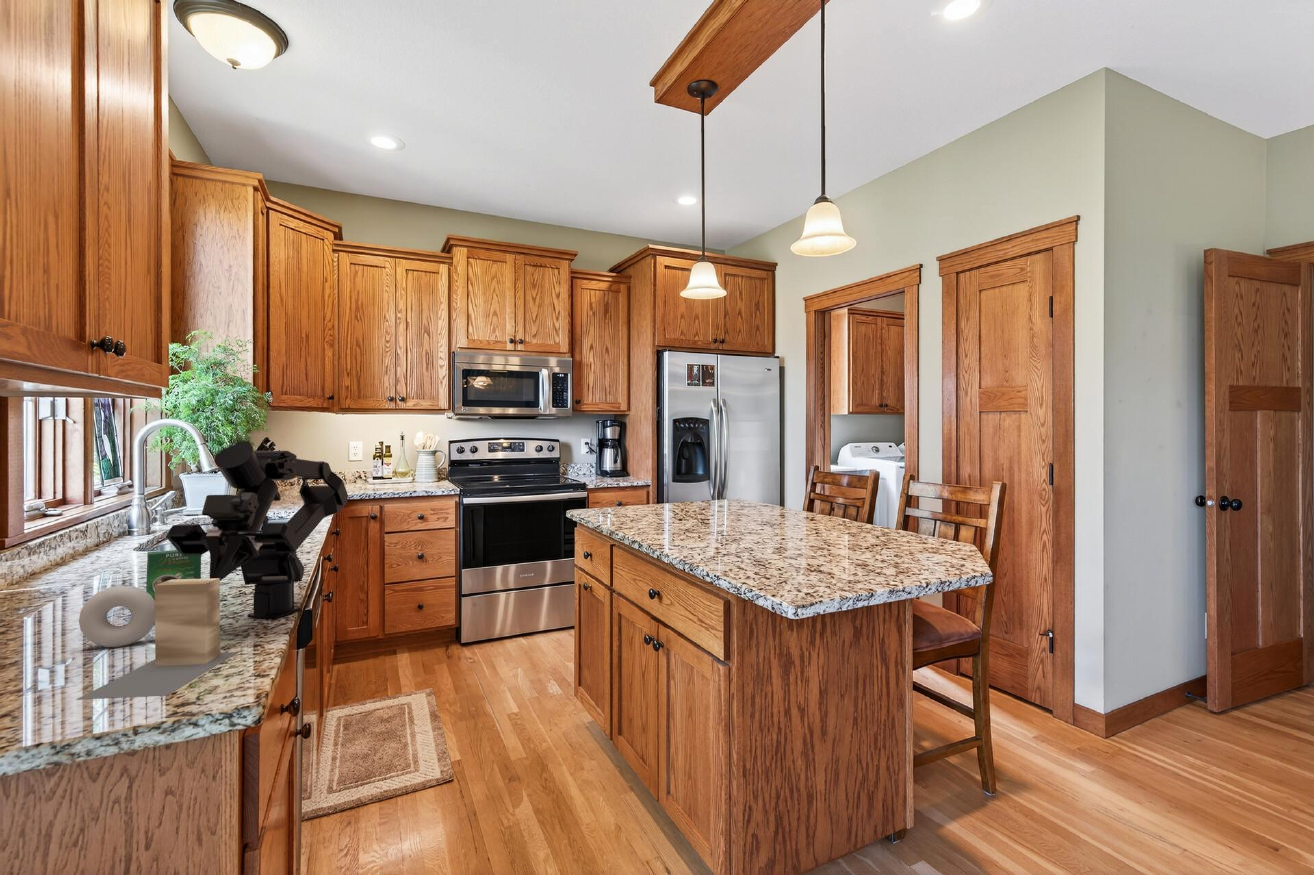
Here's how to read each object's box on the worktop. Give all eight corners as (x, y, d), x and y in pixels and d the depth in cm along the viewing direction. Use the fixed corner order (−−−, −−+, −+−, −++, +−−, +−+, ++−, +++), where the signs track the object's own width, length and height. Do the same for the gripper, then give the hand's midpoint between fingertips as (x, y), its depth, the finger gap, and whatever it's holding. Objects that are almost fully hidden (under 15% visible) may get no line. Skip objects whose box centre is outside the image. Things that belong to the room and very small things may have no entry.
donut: (161, 639, 102) (160, 580, 102) (153, 645, 99) (153, 584, 99) (84, 647, 98) (84, 586, 98) (74, 654, 95) (74, 591, 95)
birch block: (171, 657, 93) (171, 579, 93) (220, 655, 94) (219, 578, 94) (155, 665, 90) (154, 585, 90) (205, 663, 91) (205, 583, 91)
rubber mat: (163, 656, 94) (163, 655, 94) (238, 653, 96) (238, 652, 96) (76, 700, 79) (76, 699, 79) (167, 696, 80) (167, 695, 80)
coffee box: (200, 613, 117) (199, 546, 117) (202, 616, 115) (201, 547, 115) (145, 622, 112) (145, 551, 112) (146, 626, 110) (146, 553, 110)
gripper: (172, 477, 102) (123, 555, 91) (289, 475, 104) (254, 552, 93) (203, 517, 110) (160, 593, 99) (311, 515, 112) (281, 590, 101)
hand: (213, 581), depth 98 cm, fingers closed
